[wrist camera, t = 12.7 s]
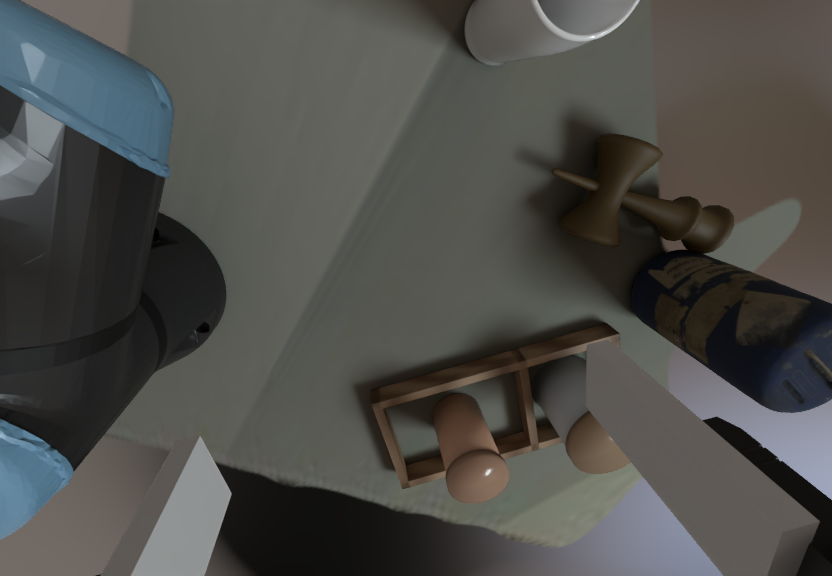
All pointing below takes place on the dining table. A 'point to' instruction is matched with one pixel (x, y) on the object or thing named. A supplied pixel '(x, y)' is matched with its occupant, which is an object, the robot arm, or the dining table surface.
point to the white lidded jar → (576, 416)
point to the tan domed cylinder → (468, 450)
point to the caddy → (479, 371)
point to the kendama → (639, 201)
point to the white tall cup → (538, 26)
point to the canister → (741, 327)
